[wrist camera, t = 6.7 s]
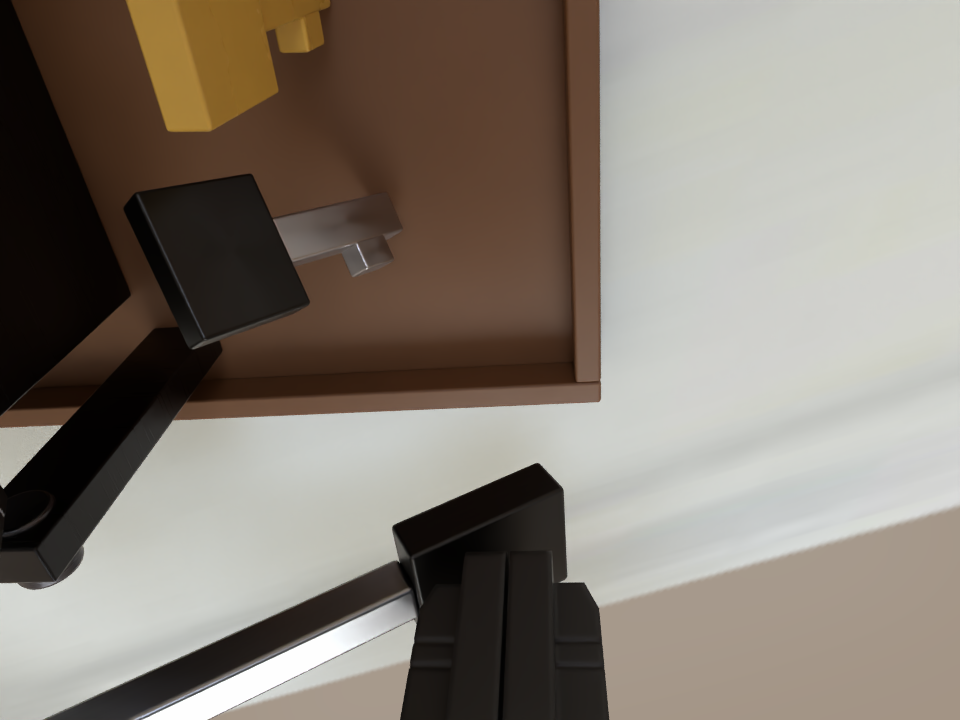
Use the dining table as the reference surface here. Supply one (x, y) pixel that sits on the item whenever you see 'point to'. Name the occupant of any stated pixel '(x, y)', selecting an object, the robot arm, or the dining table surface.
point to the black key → (248, 251)
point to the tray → (355, 174)
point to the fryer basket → (344, 604)
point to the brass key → (218, 53)
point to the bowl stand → (67, 333)
